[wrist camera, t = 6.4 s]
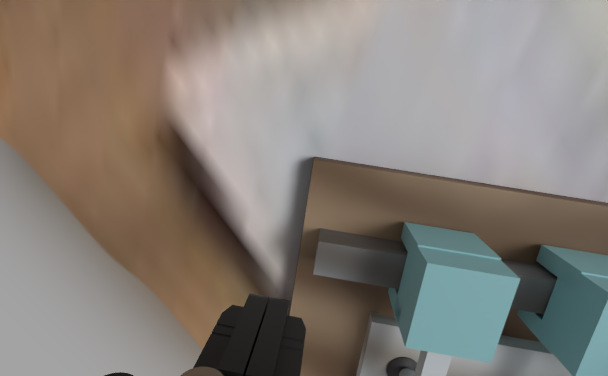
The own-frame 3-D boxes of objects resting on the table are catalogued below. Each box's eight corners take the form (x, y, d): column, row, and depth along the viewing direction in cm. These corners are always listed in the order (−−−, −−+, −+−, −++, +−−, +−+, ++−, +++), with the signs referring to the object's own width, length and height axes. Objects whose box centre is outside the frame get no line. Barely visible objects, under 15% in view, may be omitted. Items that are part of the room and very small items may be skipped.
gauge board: (314, 156, 20) (311, 166, 17) (621, 205, 20) (675, 224, 17) (281, 373, 24) (273, 412, 21) (533, 420, 24) (563, 468, 21)
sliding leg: (404, 222, 19) (428, 260, 15) (474, 233, 19) (521, 276, 15) (370, 364, 22) (381, 437, 17) (432, 376, 22) (460, 452, 17)
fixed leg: (541, 244, 19) (611, 291, 14) (613, 256, 19) (709, 308, 14) (491, 386, 22) (536, 467, 17) (554, 398, 22) (618, 483, 17)
